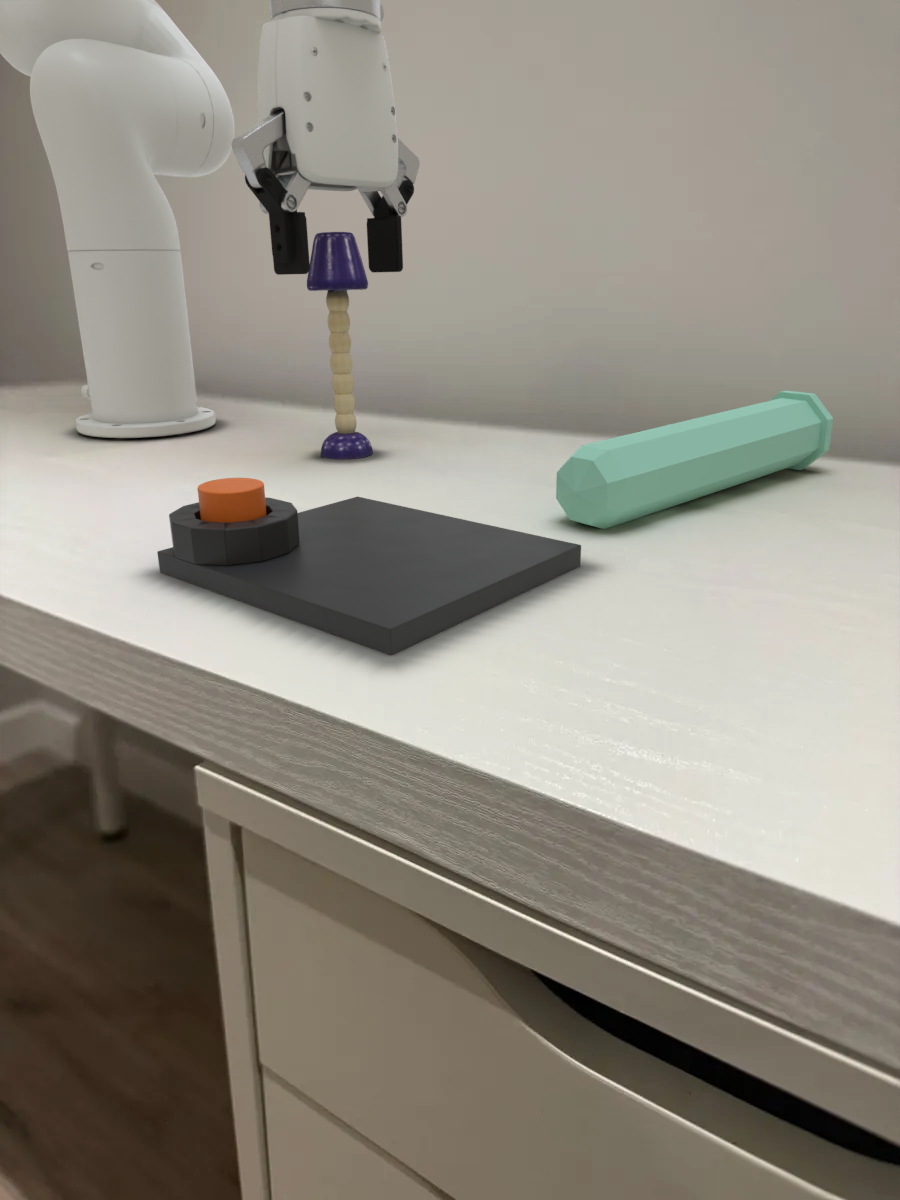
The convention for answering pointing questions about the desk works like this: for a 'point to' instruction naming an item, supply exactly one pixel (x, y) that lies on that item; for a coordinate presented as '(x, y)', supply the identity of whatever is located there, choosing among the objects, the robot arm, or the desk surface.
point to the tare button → (232, 500)
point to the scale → (363, 566)
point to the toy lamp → (340, 334)
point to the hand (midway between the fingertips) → (341, 273)
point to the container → (691, 459)
